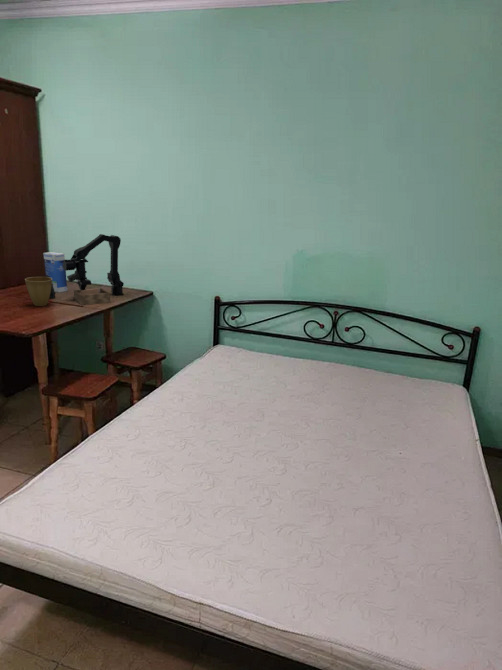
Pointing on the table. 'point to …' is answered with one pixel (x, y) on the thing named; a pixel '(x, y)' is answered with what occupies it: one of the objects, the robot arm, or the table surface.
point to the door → (90, 291)
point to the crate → (92, 297)
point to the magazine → (52, 293)
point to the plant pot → (39, 289)
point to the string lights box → (56, 270)
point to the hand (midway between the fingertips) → (82, 293)
